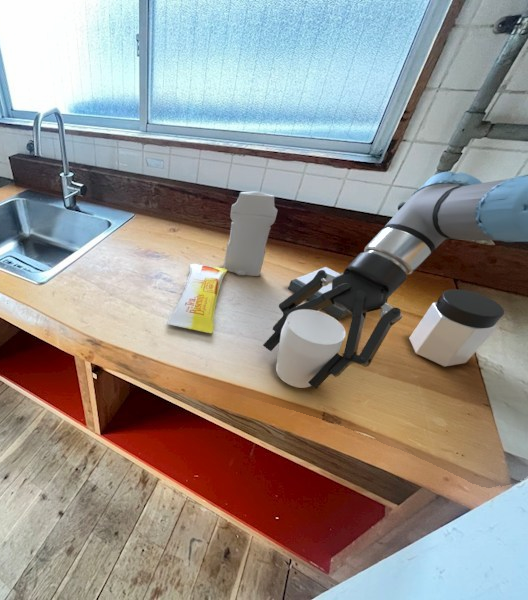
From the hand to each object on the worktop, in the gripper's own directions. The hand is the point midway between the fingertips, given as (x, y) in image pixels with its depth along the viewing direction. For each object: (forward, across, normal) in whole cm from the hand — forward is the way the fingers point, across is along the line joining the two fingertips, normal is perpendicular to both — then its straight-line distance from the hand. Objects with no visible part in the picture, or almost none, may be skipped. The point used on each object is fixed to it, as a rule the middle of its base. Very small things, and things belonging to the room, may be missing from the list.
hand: (288, 365), depth 56 cm
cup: (+1, 0, -5) cm, 5 cm away
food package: (+1, +28, -5) cm, 29 cm away
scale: (-19, +13, -24) cm, 34 cm away
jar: (-19, -9, -25) cm, 33 cm away
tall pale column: (-11, +32, -17) cm, 38 cm away
